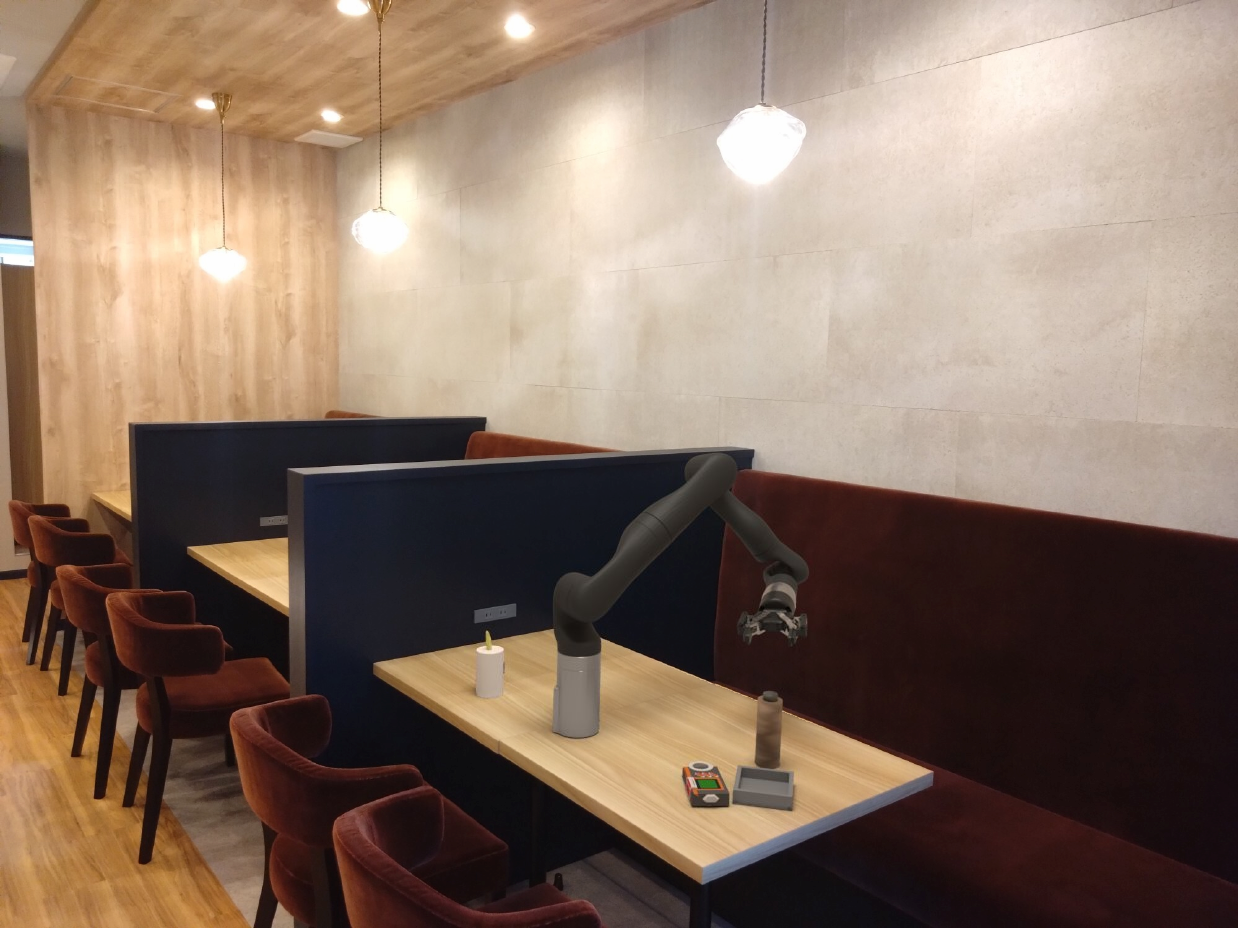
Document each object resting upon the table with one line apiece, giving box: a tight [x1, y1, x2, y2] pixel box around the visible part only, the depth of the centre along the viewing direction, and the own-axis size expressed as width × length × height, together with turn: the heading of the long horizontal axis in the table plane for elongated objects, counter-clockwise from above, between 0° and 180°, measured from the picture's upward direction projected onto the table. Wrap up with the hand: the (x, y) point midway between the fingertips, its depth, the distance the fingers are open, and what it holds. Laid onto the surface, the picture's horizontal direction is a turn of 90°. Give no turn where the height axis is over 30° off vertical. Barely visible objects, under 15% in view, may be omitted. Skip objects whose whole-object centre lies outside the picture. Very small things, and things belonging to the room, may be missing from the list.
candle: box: [475, 630, 506, 699], centre depth 210 cm, size 6×6×15 cm
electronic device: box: [681, 760, 730, 807], centre depth 166 cm, size 7×3×15 cm
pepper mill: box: [754, 690, 784, 769], centre depth 177 cm, size 5×5×14 cm
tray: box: [732, 764, 795, 811], centre depth 165 cm, size 10×10×2 cm
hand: (768, 641), depth 184 cm, fingers open, 8 cm apart
